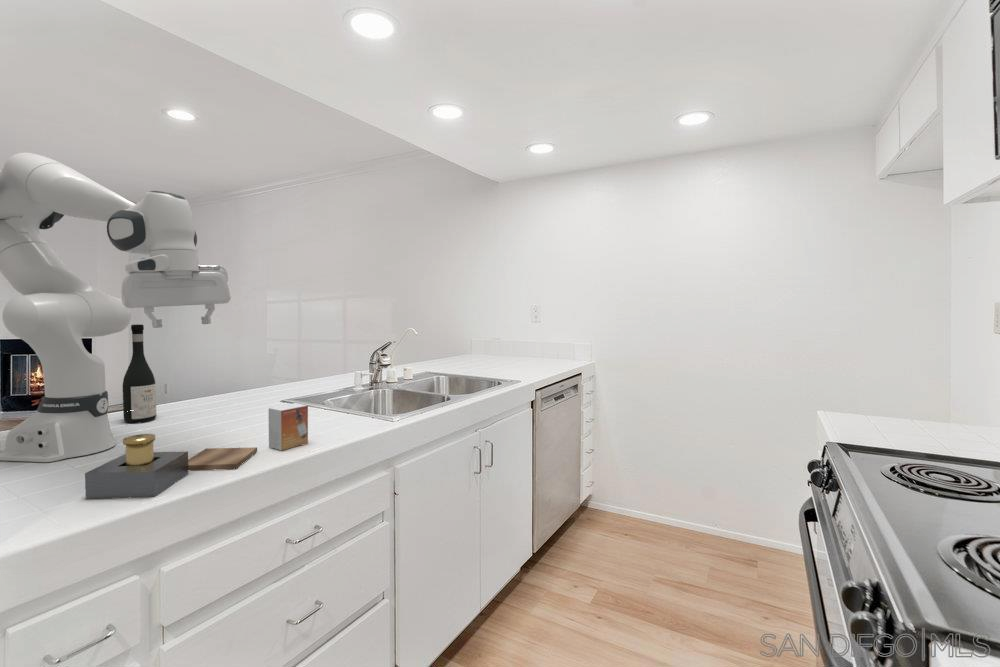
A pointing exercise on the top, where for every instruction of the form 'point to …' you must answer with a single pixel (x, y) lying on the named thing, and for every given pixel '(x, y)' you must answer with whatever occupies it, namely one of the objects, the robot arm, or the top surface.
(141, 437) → the gold cylinder
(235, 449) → the board
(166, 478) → the block
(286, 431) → the small box
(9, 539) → the top surface
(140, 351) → the wine bottle
